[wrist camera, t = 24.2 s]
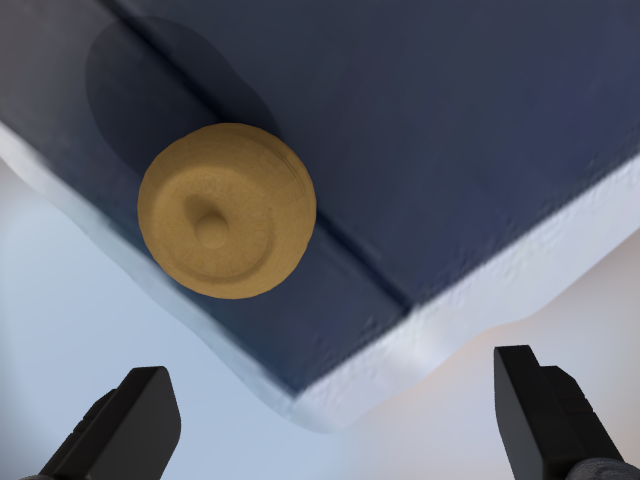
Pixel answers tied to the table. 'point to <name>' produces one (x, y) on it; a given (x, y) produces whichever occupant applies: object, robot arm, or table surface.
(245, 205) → the pot
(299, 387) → the table surface
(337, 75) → the table surface
